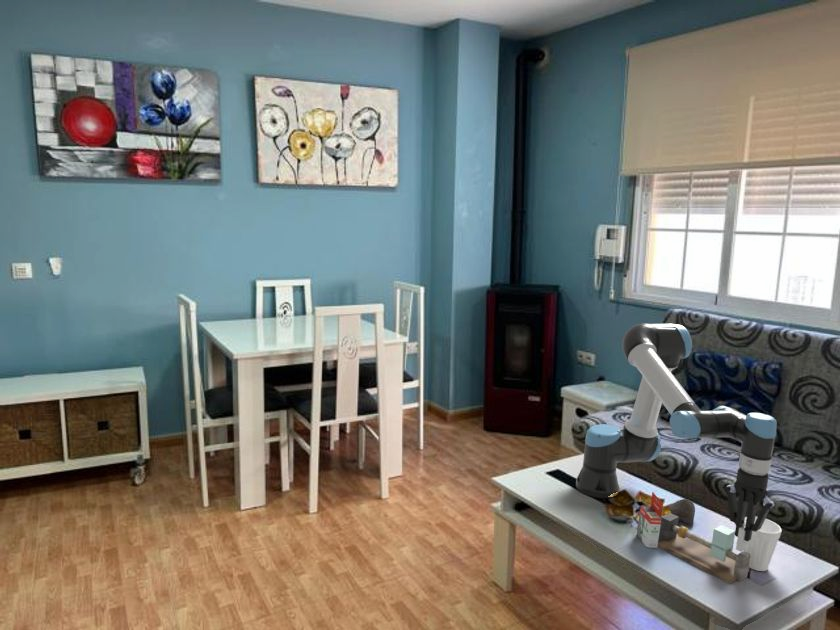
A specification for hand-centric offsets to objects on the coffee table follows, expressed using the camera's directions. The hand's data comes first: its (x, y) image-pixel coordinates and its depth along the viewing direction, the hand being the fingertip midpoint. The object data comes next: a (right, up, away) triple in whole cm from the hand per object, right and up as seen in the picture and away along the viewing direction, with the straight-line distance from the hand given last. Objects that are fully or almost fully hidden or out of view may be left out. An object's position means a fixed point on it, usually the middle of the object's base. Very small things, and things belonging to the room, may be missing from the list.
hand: (740, 549), depth 171 cm
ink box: (-20, -4, +17) cm, 27 cm away
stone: (-3, -3, +33) cm, 33 cm away
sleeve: (-3, -4, +5) cm, 7 cm away
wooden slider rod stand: (-6, -6, +9) cm, 13 cm away
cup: (+8, -8, +7) cm, 13 cm away
